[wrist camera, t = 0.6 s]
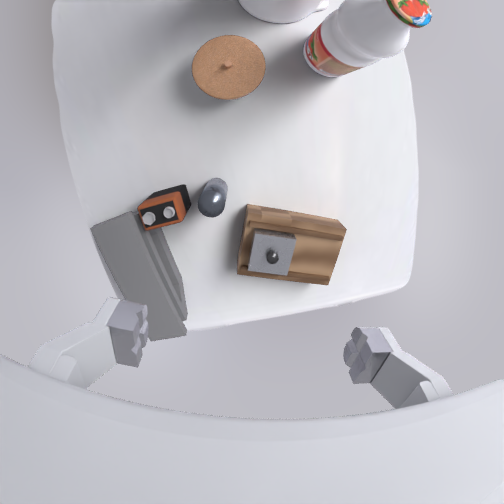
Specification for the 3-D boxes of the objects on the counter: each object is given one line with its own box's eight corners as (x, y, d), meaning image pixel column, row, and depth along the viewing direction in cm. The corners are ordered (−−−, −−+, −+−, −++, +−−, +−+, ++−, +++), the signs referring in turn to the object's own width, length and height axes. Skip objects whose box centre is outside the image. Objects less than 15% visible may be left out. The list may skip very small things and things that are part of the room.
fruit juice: (330, 87, 41) (423, 62, 16) (291, 52, 38) (348, -14, 13) (361, 58, 38) (461, 24, 13) (324, 24, 35) (398, -43, 10)
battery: (152, 192, 49) (134, 209, 40) (185, 183, 48) (173, 197, 39) (158, 214, 50) (143, 234, 42) (192, 205, 50) (182, 224, 41)
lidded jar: (196, 102, 42) (186, 97, 33) (201, 47, 37) (193, 31, 29) (259, 105, 43) (263, 100, 34) (263, 49, 38) (269, 34, 30)
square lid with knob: (254, 227, 47) (255, 236, 44) (294, 233, 48) (298, 242, 45) (247, 263, 50) (248, 274, 47) (284, 268, 51) (288, 279, 48)
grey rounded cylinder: (206, 176, 48) (199, 189, 39) (229, 179, 48) (226, 193, 39) (204, 197, 50) (196, 215, 41) (225, 200, 50) (222, 219, 41)
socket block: (247, 204, 51) (248, 214, 45) (337, 220, 53) (348, 231, 47) (237, 261, 56) (237, 276, 50) (321, 272, 58) (329, 287, 53)
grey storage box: (193, 301, 60) (185, 335, 50) (162, 308, 60) (150, 341, 51) (148, 195, 49) (128, 214, 39) (115, 208, 49) (90, 228, 40)
